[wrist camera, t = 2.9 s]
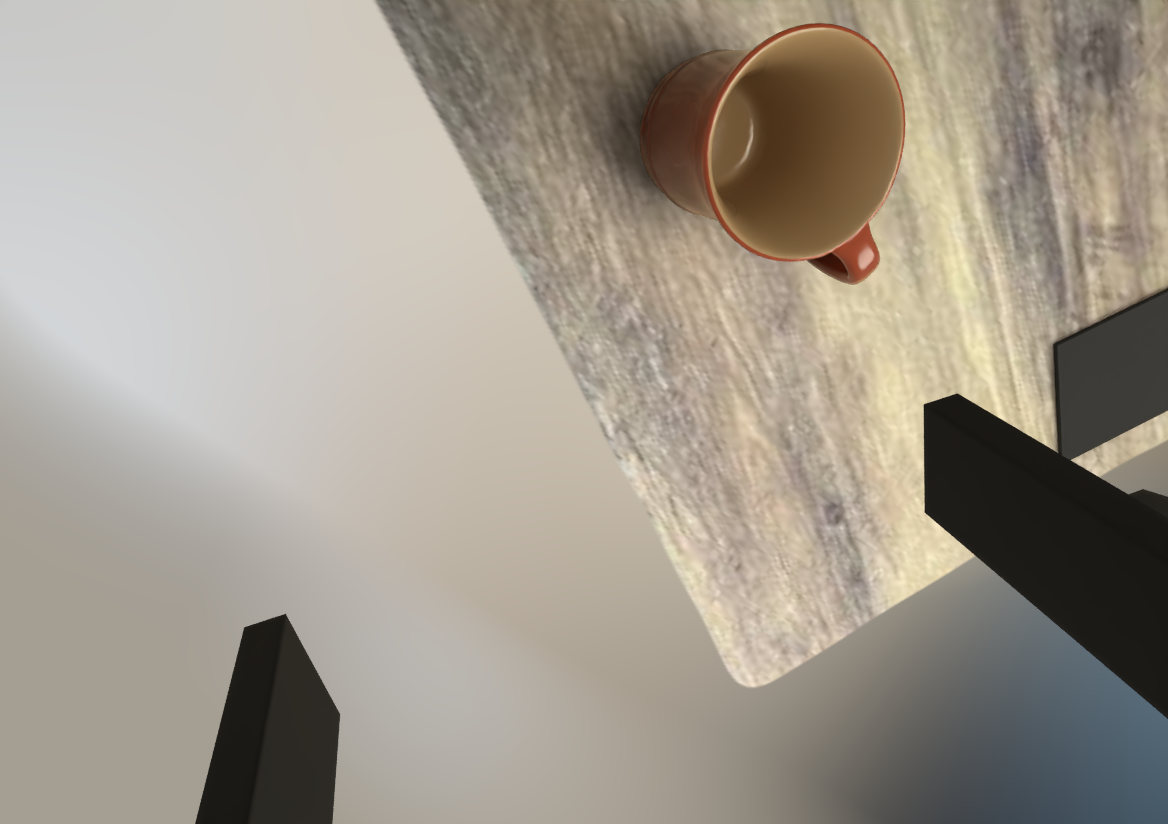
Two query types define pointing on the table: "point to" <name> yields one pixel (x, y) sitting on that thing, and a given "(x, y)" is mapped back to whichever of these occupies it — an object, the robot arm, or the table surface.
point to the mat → (1112, 376)
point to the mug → (783, 144)
